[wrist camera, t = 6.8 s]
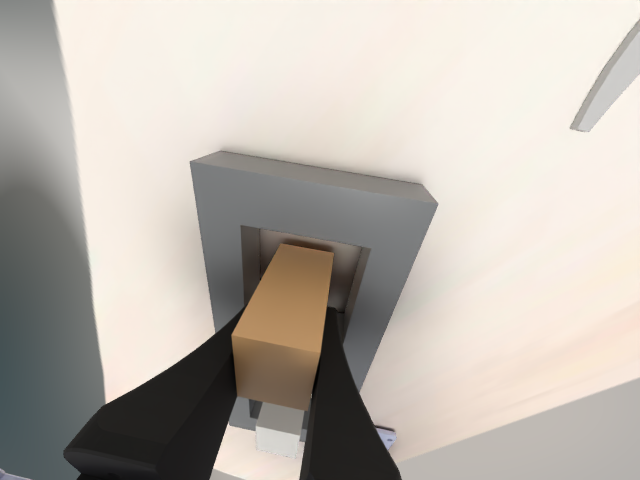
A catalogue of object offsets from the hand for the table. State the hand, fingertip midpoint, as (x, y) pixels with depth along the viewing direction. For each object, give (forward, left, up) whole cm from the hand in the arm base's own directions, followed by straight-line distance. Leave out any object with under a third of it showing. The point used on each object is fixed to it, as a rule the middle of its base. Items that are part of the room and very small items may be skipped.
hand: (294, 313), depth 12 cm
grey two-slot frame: (-5, 0, -3) cm, 6 cm away
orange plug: (+1, 0, -2) cm, 2 cm away
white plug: (-11, 0, -3) cm, 11 cm away
